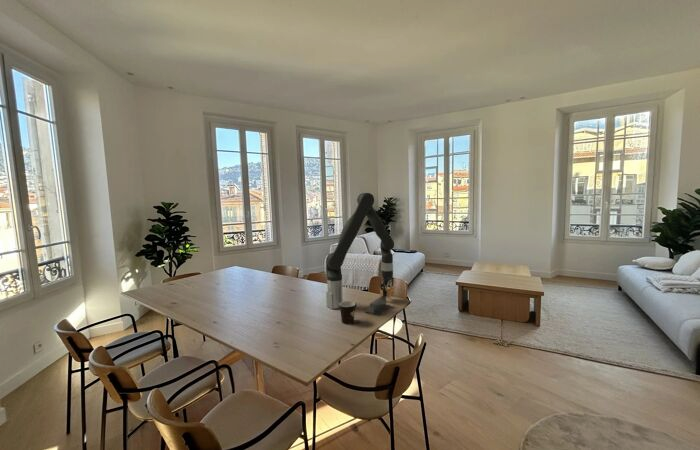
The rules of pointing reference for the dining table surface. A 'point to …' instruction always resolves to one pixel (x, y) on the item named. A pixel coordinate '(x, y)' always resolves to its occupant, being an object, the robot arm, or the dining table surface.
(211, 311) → the dining table surface
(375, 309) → the rail
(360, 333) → the dining table surface
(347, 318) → the coffee mug
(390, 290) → the block
